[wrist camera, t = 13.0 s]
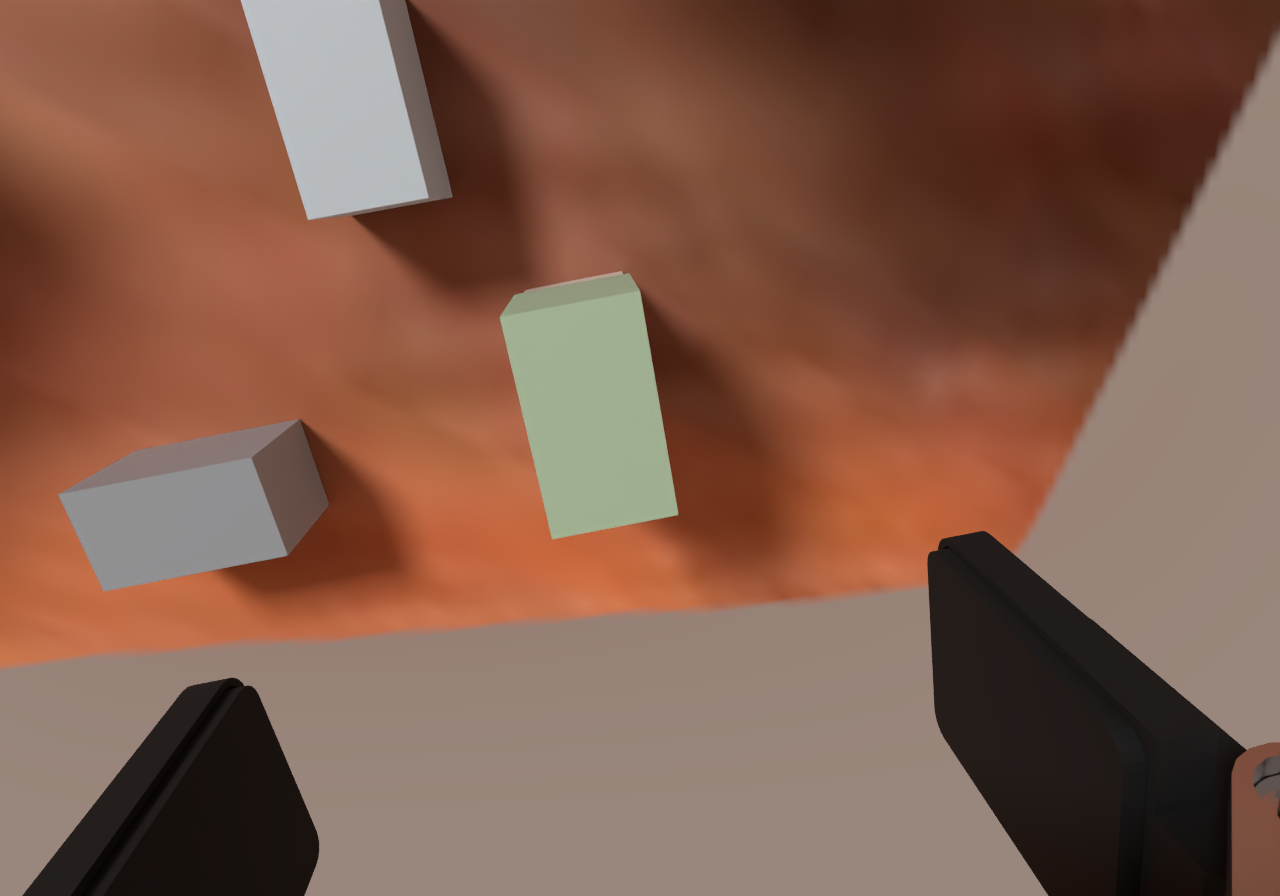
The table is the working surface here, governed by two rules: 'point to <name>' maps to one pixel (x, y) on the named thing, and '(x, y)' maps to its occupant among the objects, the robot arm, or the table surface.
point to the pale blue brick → (350, 103)
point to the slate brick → (198, 505)
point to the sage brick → (590, 404)
